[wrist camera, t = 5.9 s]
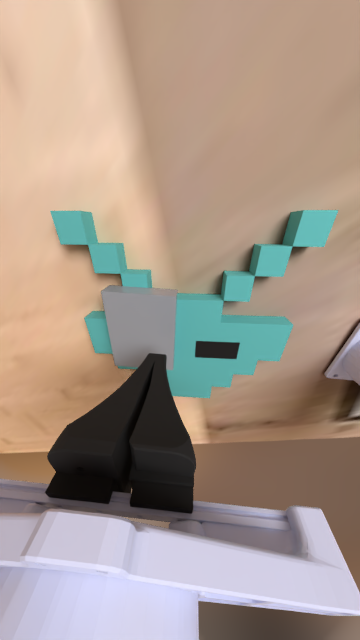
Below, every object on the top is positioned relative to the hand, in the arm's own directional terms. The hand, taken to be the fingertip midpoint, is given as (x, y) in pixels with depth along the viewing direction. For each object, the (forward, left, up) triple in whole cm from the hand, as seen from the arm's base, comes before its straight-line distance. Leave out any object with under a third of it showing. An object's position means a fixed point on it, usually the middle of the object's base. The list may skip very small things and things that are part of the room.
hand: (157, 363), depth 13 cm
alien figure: (-2, 0, -7) cm, 7 cm away
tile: (-1, -1, -3) cm, 4 cm away
